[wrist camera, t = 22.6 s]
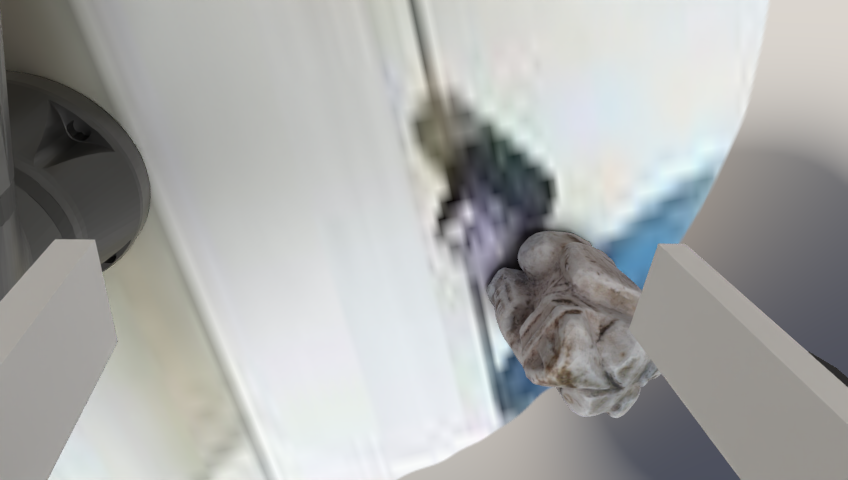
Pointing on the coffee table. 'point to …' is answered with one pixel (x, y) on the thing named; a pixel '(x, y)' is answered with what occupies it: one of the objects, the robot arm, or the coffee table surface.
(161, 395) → the coffee table surface
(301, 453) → the coffee table surface
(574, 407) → the figurine
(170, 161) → the coffee table surface
